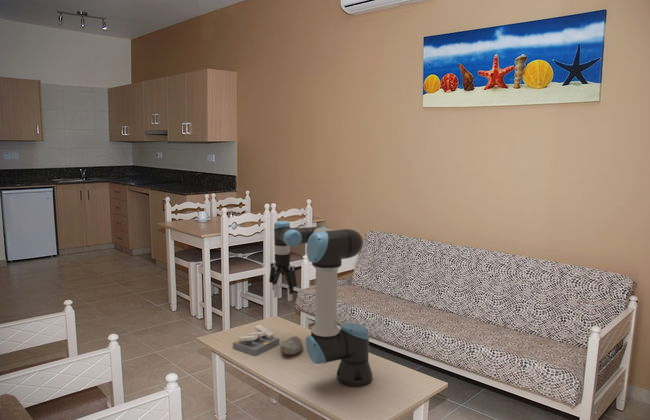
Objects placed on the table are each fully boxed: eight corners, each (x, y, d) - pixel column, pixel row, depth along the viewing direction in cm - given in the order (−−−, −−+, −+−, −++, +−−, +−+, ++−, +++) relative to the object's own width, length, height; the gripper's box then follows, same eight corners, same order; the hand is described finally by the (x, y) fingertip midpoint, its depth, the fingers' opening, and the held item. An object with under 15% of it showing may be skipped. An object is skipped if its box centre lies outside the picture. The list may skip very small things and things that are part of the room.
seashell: (294, 334, 245) (279, 326, 233) (311, 345, 238) (297, 337, 227) (284, 351, 243) (268, 343, 231) (301, 363, 236) (286, 355, 224)
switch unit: (279, 344, 245) (279, 334, 244) (255, 356, 231) (255, 346, 230) (257, 337, 253) (257, 328, 253) (232, 348, 240) (232, 339, 239)
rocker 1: (258, 338, 236) (257, 335, 236) (252, 341, 233) (252, 337, 233) (244, 339, 242) (243, 336, 242) (238, 341, 239) (237, 338, 239)
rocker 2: (266, 334, 240) (265, 331, 240) (261, 337, 237) (260, 333, 237) (252, 335, 246) (251, 332, 246) (246, 338, 243) (246, 334, 243)
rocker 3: (273, 336, 245) (274, 333, 244) (268, 339, 242) (269, 336, 242) (259, 327, 250) (259, 324, 250) (254, 329, 247) (254, 326, 247)
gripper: (304, 254, 236) (304, 300, 239) (271, 249, 248) (272, 292, 251) (294, 257, 230) (294, 304, 233) (261, 251, 242) (261, 296, 245)
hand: (283, 298), depth 242 cm, fingers open, 8 cm apart
